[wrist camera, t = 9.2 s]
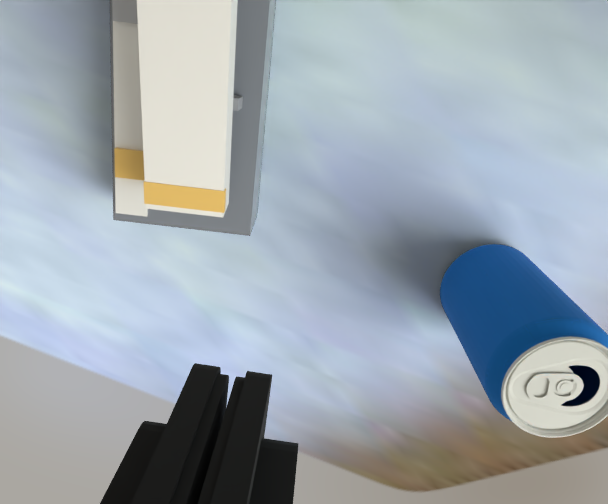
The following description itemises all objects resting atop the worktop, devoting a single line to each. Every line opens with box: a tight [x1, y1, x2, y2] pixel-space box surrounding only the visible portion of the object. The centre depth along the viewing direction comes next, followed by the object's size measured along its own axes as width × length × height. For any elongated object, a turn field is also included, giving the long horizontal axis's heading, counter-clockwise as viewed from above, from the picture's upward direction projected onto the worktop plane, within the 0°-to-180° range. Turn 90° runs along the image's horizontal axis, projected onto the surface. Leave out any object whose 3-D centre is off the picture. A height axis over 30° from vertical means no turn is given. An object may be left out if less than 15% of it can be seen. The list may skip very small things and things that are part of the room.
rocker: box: [137, 0, 238, 218], centre depth 25 cm, size 4×11×2 cm, turn 173°
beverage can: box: [440, 244, 608, 438], centre depth 30 cm, size 6×6×12 cm
